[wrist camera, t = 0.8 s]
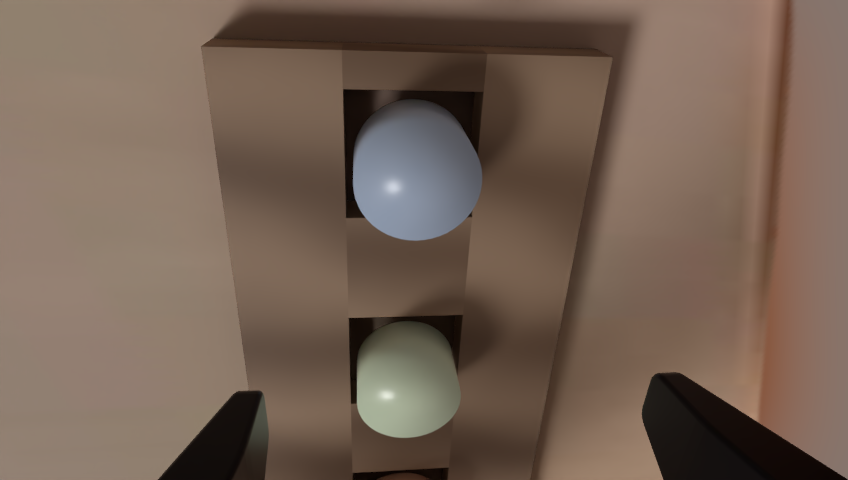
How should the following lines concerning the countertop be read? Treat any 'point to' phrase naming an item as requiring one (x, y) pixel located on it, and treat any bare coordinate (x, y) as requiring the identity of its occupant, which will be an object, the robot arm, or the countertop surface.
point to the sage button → (406, 380)
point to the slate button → (415, 170)
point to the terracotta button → (403, 477)
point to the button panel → (400, 243)
